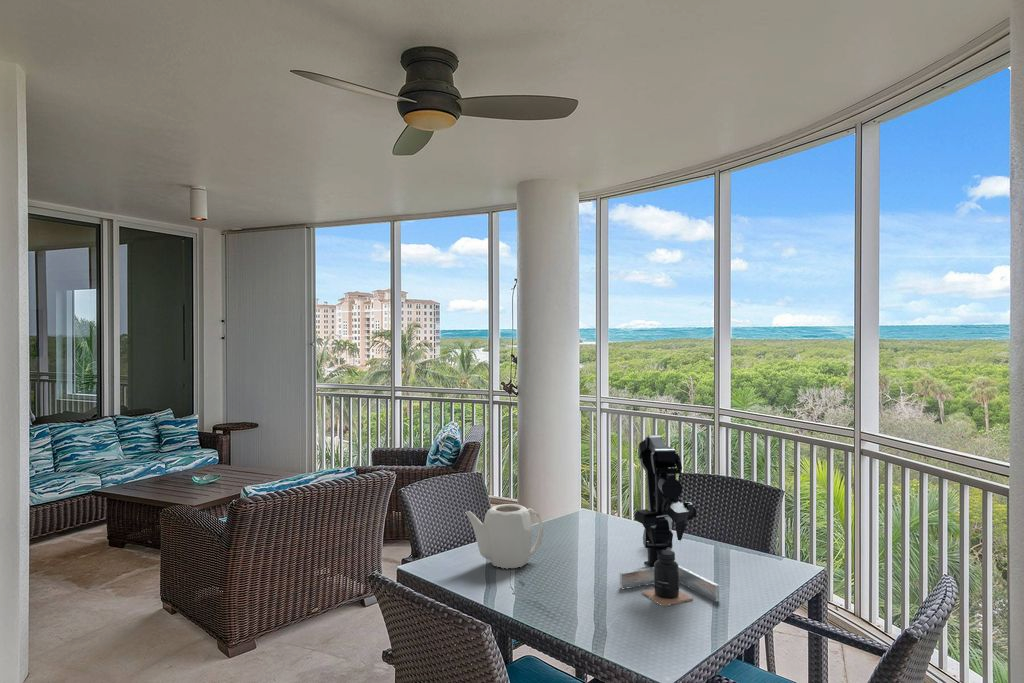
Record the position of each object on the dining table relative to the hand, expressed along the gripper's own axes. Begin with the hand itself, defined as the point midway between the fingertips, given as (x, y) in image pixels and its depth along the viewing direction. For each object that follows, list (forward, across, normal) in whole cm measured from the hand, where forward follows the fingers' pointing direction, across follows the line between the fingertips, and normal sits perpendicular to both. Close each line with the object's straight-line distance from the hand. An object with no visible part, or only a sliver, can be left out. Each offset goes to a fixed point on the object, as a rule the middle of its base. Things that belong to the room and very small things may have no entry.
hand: (666, 542), depth 182 cm
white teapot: (+13, -38, +37) cm, 55 cm away
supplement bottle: (+12, -6, -8) cm, 15 cm away
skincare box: (+14, +21, +33) cm, 42 cm away
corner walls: (+12, -5, -7) cm, 15 cm away
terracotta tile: (+12, -6, -8) cm, 16 cm away
